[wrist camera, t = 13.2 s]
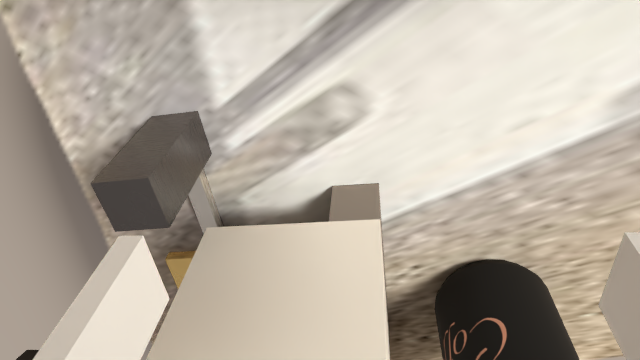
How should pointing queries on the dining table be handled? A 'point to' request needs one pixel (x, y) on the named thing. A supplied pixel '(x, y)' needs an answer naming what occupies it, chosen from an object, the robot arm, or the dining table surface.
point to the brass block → (179, 264)
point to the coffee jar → (499, 315)
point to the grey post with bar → (159, 176)
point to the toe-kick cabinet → (285, 290)
